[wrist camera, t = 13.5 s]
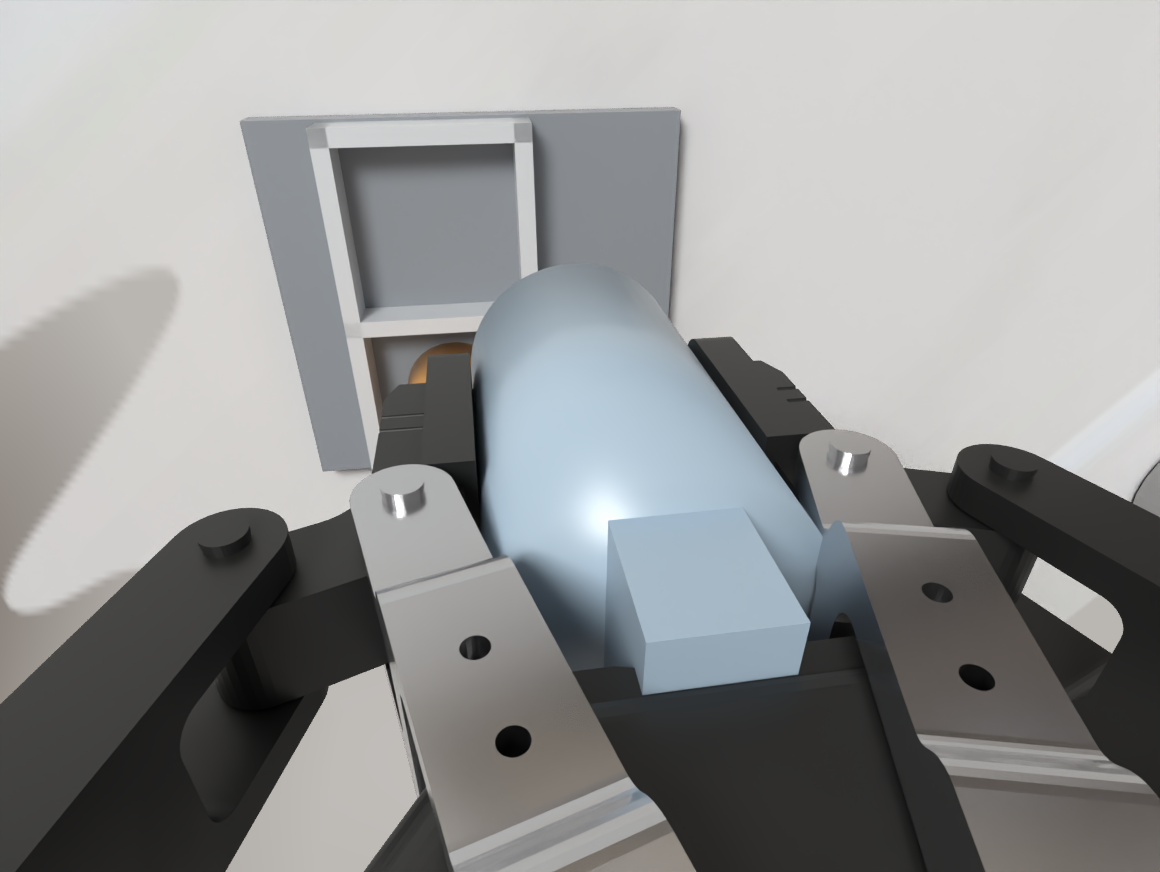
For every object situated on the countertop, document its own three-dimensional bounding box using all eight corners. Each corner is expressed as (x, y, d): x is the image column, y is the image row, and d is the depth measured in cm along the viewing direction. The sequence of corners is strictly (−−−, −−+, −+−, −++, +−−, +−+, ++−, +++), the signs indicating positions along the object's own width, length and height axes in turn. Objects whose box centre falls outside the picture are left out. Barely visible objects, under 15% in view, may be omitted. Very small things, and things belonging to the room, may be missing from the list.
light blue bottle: (679, 258, 13) (967, 570, 6) (665, 441, 15) (864, 839, 8) (463, 268, 12) (479, 625, 5) (478, 456, 15) (507, 900, 7)
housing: (674, 107, 26) (692, 115, 24) (655, 434, 33) (668, 463, 31) (247, 117, 24) (225, 127, 22) (327, 459, 31) (316, 491, 29)
